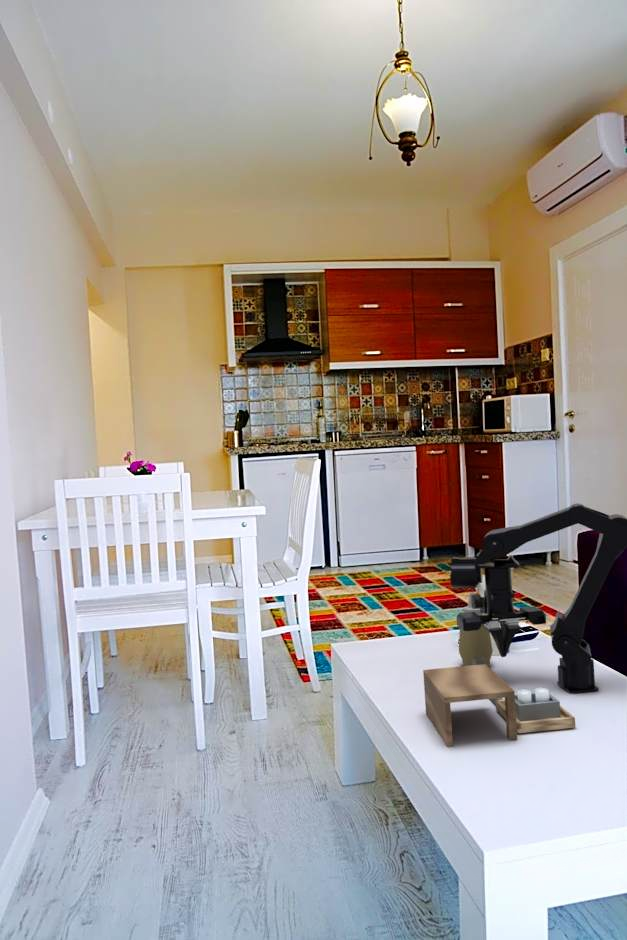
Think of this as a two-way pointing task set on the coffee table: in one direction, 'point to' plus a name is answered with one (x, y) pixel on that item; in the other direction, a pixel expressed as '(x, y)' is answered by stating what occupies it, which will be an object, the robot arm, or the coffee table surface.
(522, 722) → the shallow wooden box
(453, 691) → the wooden stand
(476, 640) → the squeeze bottle
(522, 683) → the coffee table surface
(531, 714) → the tray
